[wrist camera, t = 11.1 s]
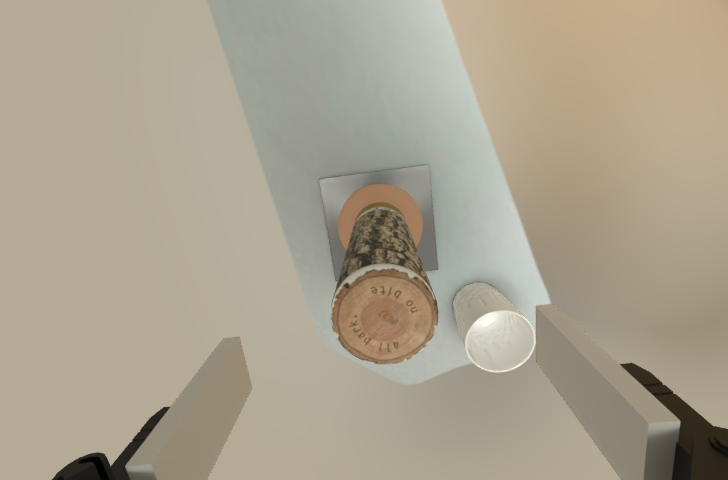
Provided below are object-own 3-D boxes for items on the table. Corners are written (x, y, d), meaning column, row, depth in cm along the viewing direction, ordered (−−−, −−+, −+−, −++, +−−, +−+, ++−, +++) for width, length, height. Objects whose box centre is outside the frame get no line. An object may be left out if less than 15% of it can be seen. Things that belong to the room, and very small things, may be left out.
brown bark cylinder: (382, 262, 48) (389, 383, 24) (343, 230, 47) (308, 321, 23) (417, 224, 46) (461, 312, 22) (377, 190, 45) (378, 243, 21)
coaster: (319, 178, 47) (318, 179, 45) (428, 164, 46) (429, 164, 44) (336, 279, 50) (335, 283, 49) (437, 268, 49) (438, 271, 48)
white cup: (495, 269, 49) (525, 300, 39) (512, 318, 51) (544, 360, 41) (440, 289, 50) (455, 324, 40) (458, 336, 52) (477, 381, 42)
